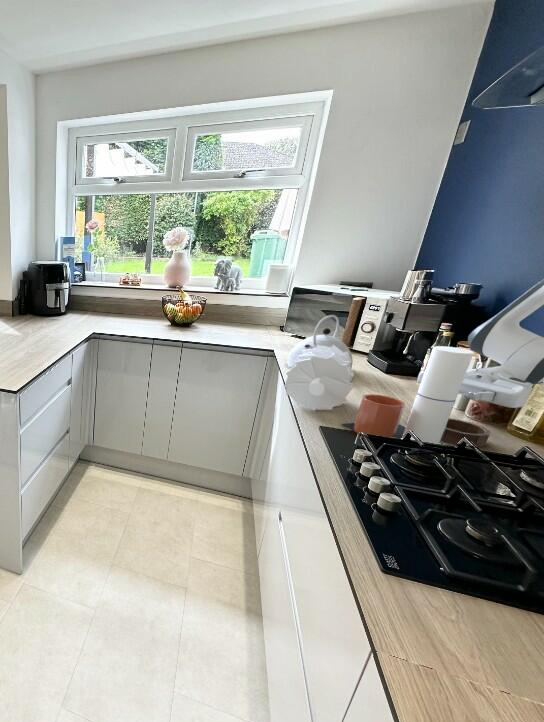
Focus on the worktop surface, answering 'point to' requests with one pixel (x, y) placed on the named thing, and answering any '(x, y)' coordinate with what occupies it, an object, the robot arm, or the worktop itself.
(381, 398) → the terracotta cup
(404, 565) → the worktop surface
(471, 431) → the holder ring
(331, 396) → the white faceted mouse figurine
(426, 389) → the cylindrical container
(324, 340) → the kettle
